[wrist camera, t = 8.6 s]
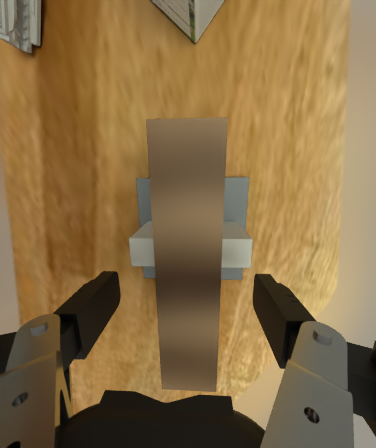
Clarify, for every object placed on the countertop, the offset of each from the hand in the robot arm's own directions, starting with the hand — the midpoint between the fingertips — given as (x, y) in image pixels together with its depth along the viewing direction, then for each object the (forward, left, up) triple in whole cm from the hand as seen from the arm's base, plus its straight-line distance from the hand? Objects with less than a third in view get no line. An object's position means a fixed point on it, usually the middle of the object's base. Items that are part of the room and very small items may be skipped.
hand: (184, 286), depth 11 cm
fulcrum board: (0, 0, -12) cm, 12 cm away
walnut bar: (0, 0, -5) cm, 5 cm away
